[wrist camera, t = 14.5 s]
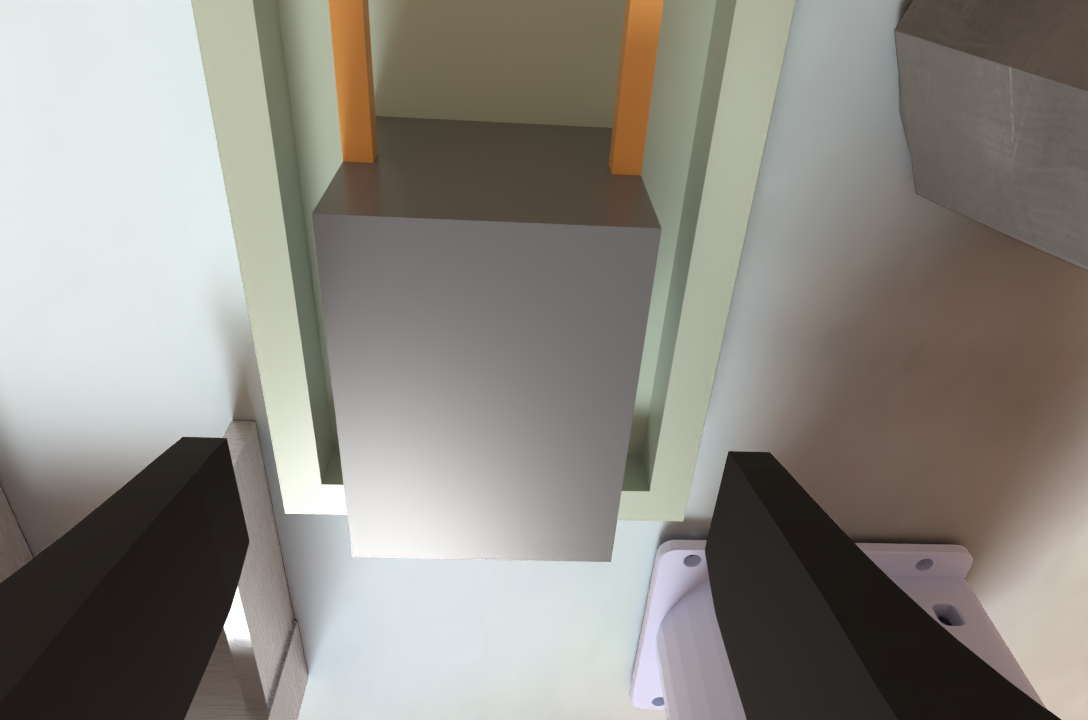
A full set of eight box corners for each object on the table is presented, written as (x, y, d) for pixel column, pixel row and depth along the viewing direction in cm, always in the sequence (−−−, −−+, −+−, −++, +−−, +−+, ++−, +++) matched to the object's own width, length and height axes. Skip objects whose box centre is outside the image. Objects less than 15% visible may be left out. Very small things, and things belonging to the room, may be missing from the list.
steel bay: (259, 421, 20) (170, 611, 15) (308, 677, 26) (257, 875, 21) (-61, 413, 19) (-267, 606, 14) (65, 675, 25) (-48, 877, 20)
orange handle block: (656, -178, 12) (726, -199, 8) (590, 408, 19) (610, 561, 15) (349, -200, 12) (259, -234, 8) (389, 402, 19) (351, 557, 14)
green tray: (831, -366, 12) (882, -405, 10) (670, 468, 21) (683, 521, 19) (167, -421, 11) (104, -473, 9) (304, 460, 20) (285, 513, 19)
